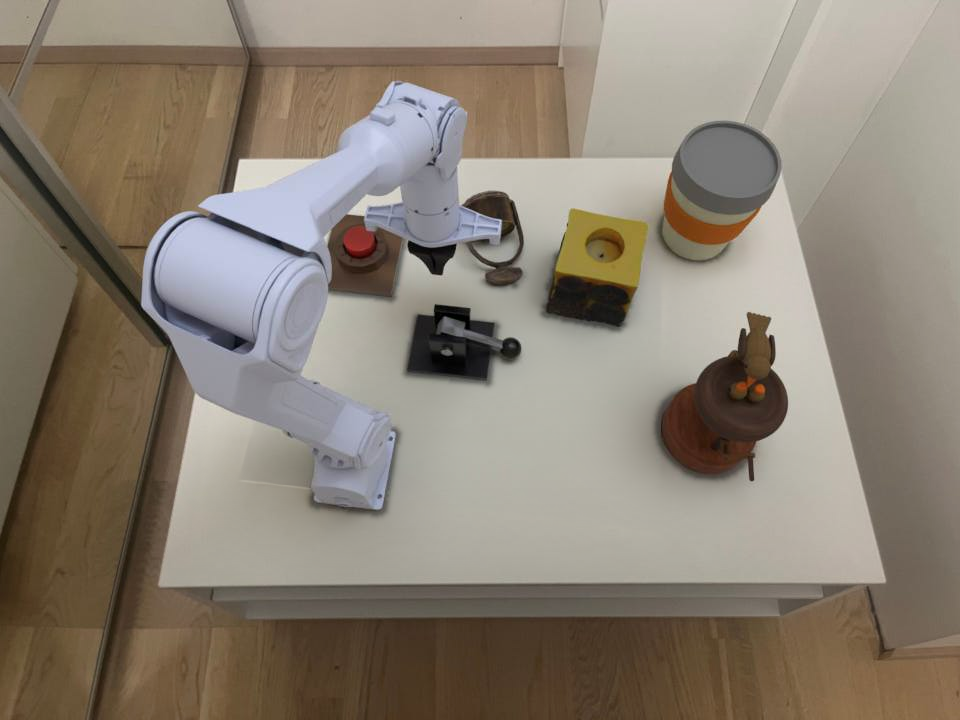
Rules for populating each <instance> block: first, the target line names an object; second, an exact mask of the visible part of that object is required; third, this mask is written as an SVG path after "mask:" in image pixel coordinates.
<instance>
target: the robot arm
mask: <svg viewBox="0 0 960 720" xmlns="http://www.w3.org/2000/svg"><path fill="white" fill-rule="evenodd" d="M467 123H468V111H466V110H465V108H464V107H461V105H460V101H459V99H456V98H454V97H451V96H448V95H445V94H443V93H440V92H438V91H437V92H436V91H433V90H430V89H428V88H424V87H422V86H419V85H416V84H414V83H411V82H406V81H405V82H403V81H401V80H396V81H395V80H393V81H391V83H390V84H389V85H388V86H387V88H386V89H385V91H384V92H383V95H382V97H381V99H380V101H379V102H378V103H376V104H375V107H374V108H373V110H371V111H370V114H368V115H367V116H365V117H363V118H362V119H360V120H358V121H357V122H355V123H353V124H352V125H350V126H349V127H347V128H346V129H345V130H344V131H343V132H342V133H341V135H340V137H339V139H338V143H337V149H336V151H337V152H335V153H332V154H330V155H329V156H327V157H324V158H322V159H320V160H318V161H316V162H314V163H312V164H309V165H308V166H305V167H304V168H301V169H299V170H297V171H295V172H293V173H291V174H289V175H287V176H284V177H283V178H280V179H278V180H276V181H275V182H272V183H270V184H268V185H266V186H263V187H259V188H252V189H246V190H239V191H233V192H225V193H219V194H213V195H210V196H208V197H207V198H206V199H203V201H202V202H201V203H199V204H198V205H197V207H198V208H200V209H202V210H205V211H207V212H208V213H210V214H209V215H205V214H203V213H201V212H200V211H194V210H193V211H192V210H187V211H182V212H180V213H177V214H175V215H173V216H172V217H170V218H168V220H166V221H165V222H164V223H163V224H162V225H161V226H160V227H159V228H158V230H157V231H156V232H155V234H154V235H153V236H152V238H151V240H150V242H149V244H148V246H147V248H146V250H145V251H146V252H145V255H144V260H143V267H142V268H143V269H142V283H141V302H140V306H141V308H142V309H143V311H145V313H146V314H147V315H148V316H150V318H151V319H153V320H154V322H155V323H156V324H157V325H158V326H159V327H160V328H161V329H162V330H163V331H164V332H165V333H166V334H167V336H168V338H169V340H170V342H171V344H172V347H173V348H174V351H175V353H176V355H177V357H178V359H179V363H180V365H181V366H182V368H183V370H184V373H185V375H186V377H187V380H188V382H189V384H190V386H191V389H192V390H193V392H194V393H195V394H196V395H197V396H198V397H200V398H201V399H202V400H205V401H208V402H209V403H211V404H212V405H213V404H214V405H215V406H217V407H220V408H222V409H224V410H226V411H229V412H230V413H232V414H235V415H238V416H240V417H243V418H247V419H250V420H252V421H255V422H257V423H261V424H264V425H267V426H269V427H272V428H276V429H278V430H281V431H282V433H283V434H284V436H286V437H288V438H290V439H296V440H298V441H300V442H302V443H304V444H306V445H307V446H308V448H309V450H310V452H311V453H312V456H313V461H314V463H313V464H314V469H313V475H312V479H311V483H310V490H311V492H312V493H313V494H314V495H313V500H314V501H315V503H321V504H326V505H327V504H328V505H335V506H339V507H342V508H343V507H344V508H357V509H358V508H359V509H365V510H366V509H367V510H375V511H380V510H382V508H383V507H384V502H385V495H386V490H387V484H388V479H389V475H390V474H389V473H390V468H391V463H392V459H393V452H394V448H395V442H396V437H397V434H396V432H395V431H393V430H392V420H391V416H390V414H389V413H388V412H387V411H383V410H381V411H380V410H378V409H376V408H374V407H371V406H369V405H367V404H365V403H362V402H360V401H358V400H356V399H353V398H351V397H349V396H347V395H345V394H342V393H340V392H338V391H336V390H334V389H331V388H329V387H328V386H327V387H326V386H325V385H322V384H321V383H320V382H319V381H316V380H315V379H307V378H305V377H304V376H302V372H303V369H304V367H305V365H306V364H307V361H308V359H309V356H310V352H311V349H312V346H313V344H314V340H315V338H316V335H317V332H318V328H319V325H320V322H321V321H322V318H323V316H324V313H325V312H326V311H325V310H326V307H327V302H328V297H329V290H328V284H329V283H330V281H331V276H332V265H331V257H330V252H329V249H328V247H327V246H328V244H327V243H326V240H325V236H327V234H328V233H330V232H331V231H332V228H333V227H334V226H335V225H336V224H337V223H338V222H339V221H340V220H341V219H342V218H343V217H344V216H345V215H346V214H348V213H350V212H351V211H352V210H353V208H355V207H356V205H357V204H359V202H361V201H362V199H364V197H365V196H367V195H368V196H371V197H383V196H387V195H389V194H391V193H393V192H394V191H395V190H397V188H399V190H400V196H401V201H399V202H396V203H395V202H394V203H389V204H384V205H367V207H366V210H365V214H364V216H365V218H364V222H365V226H366V230H367V231H376V230H377V227H380V228H382V229H384V230H387V231H389V232H391V233H393V234H396V235H398V236H400V237H403V238H404V240H407V244H406V245H407V250H408V251H407V252H408V253H409V254H410V255H413V256H415V257H416V258H418V259H419V260H420V261H421V262H422V263H423V264H424V266H425V267H426V268H427V270H428V271H429V273H430V275H432V276H433V275H434V276H441V277H442V276H443V275H444V269H445V267H446V264H447V263H448V262H449V261H450V260H451V259H453V258H454V256H455V253H456V252H457V246H458V244H463V243H466V242H469V241H471V242H473V241H476V240H479V239H485V240H489V245H493V246H494V245H495V246H500V244H501V238H502V237H501V228H502V220H500V219H494V218H490V217H487V216H484V215H482V214H479V213H477V212H475V211H472V210H470V209H468V208H465V207H463V206H461V205H462V204H461V205H460V198H459V197H460V196H459V176H458V165H459V164H460V162H461V160H462V155H463V143H464V142H463V141H464V137H465V133H466V129H467ZM390 438H392V440H390ZM380 495H381V497H380V498H379V496H380Z"/></svg>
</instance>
